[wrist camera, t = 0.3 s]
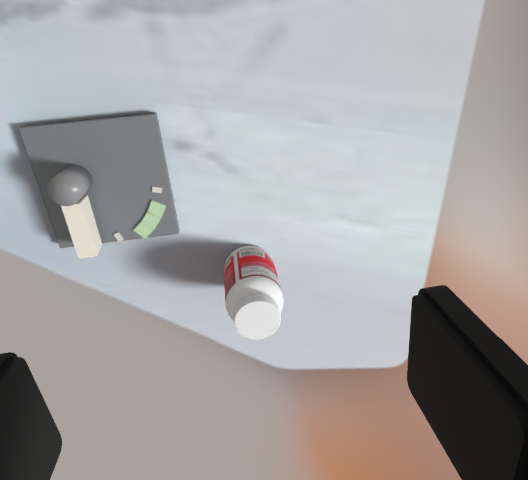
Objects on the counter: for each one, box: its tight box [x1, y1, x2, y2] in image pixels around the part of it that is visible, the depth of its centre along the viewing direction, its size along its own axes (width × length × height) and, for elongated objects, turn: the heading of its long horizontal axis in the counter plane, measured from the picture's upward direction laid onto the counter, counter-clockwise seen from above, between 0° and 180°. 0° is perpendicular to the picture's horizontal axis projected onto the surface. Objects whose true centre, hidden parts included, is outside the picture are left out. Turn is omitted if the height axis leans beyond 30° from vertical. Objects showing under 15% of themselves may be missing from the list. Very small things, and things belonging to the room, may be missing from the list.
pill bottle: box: [224, 246, 284, 340], centre depth 44 cm, size 6×6×11 cm
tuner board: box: [19, 113, 179, 248], centre depth 42 cm, size 13×13×2 cm
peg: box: [47, 165, 102, 258], centre depth 40 cm, size 9×3×4 cm, turn 5°
